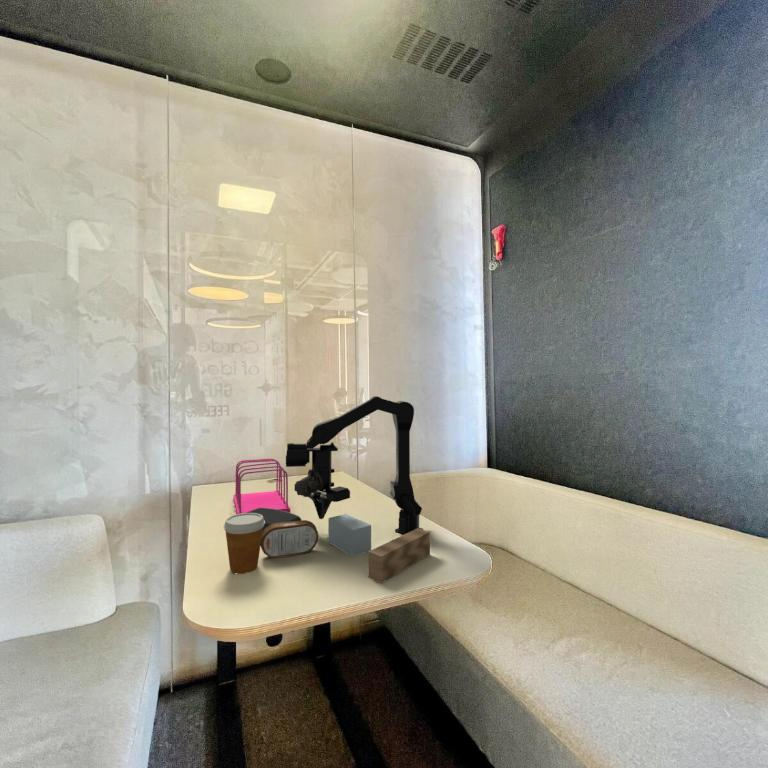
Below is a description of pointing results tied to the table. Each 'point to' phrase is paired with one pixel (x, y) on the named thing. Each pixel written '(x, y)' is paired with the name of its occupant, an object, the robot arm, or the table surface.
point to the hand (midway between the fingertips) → (321, 518)
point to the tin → (289, 538)
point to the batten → (398, 554)
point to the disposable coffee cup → (244, 541)
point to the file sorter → (261, 499)
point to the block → (349, 534)
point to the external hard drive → (275, 516)
